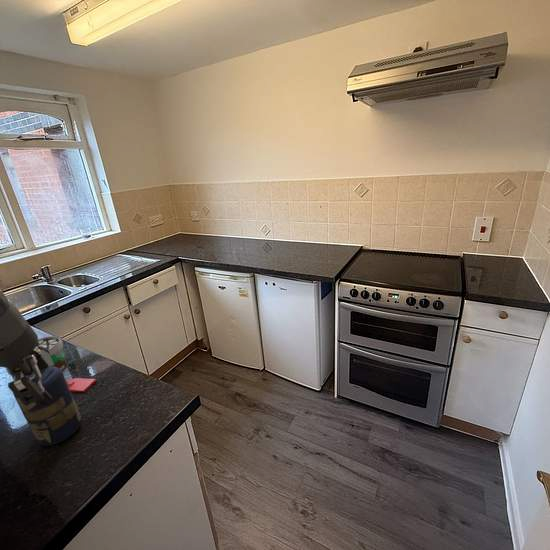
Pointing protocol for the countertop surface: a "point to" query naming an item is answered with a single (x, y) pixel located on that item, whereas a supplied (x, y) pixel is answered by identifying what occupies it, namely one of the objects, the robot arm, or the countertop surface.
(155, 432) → the countertop surface
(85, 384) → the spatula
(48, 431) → the canister
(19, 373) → the robot arm
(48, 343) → the food container
